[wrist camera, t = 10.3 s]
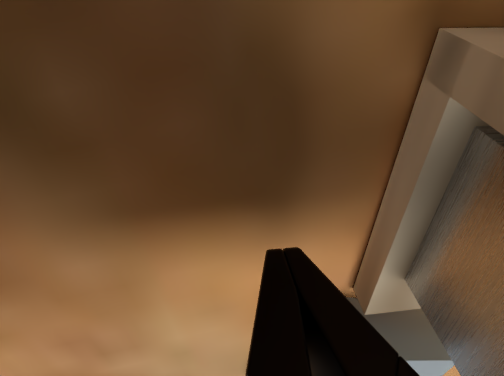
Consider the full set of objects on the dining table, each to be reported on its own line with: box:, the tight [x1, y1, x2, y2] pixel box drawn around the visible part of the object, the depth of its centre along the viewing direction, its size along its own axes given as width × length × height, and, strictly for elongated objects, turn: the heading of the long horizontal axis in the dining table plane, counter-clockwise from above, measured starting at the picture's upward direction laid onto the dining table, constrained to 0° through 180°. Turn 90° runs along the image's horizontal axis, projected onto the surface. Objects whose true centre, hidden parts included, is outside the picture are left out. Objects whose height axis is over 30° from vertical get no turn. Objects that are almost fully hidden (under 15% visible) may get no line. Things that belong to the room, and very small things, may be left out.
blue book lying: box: [346, 297, 454, 376], centre depth 16 cm, size 6×6×3 cm
